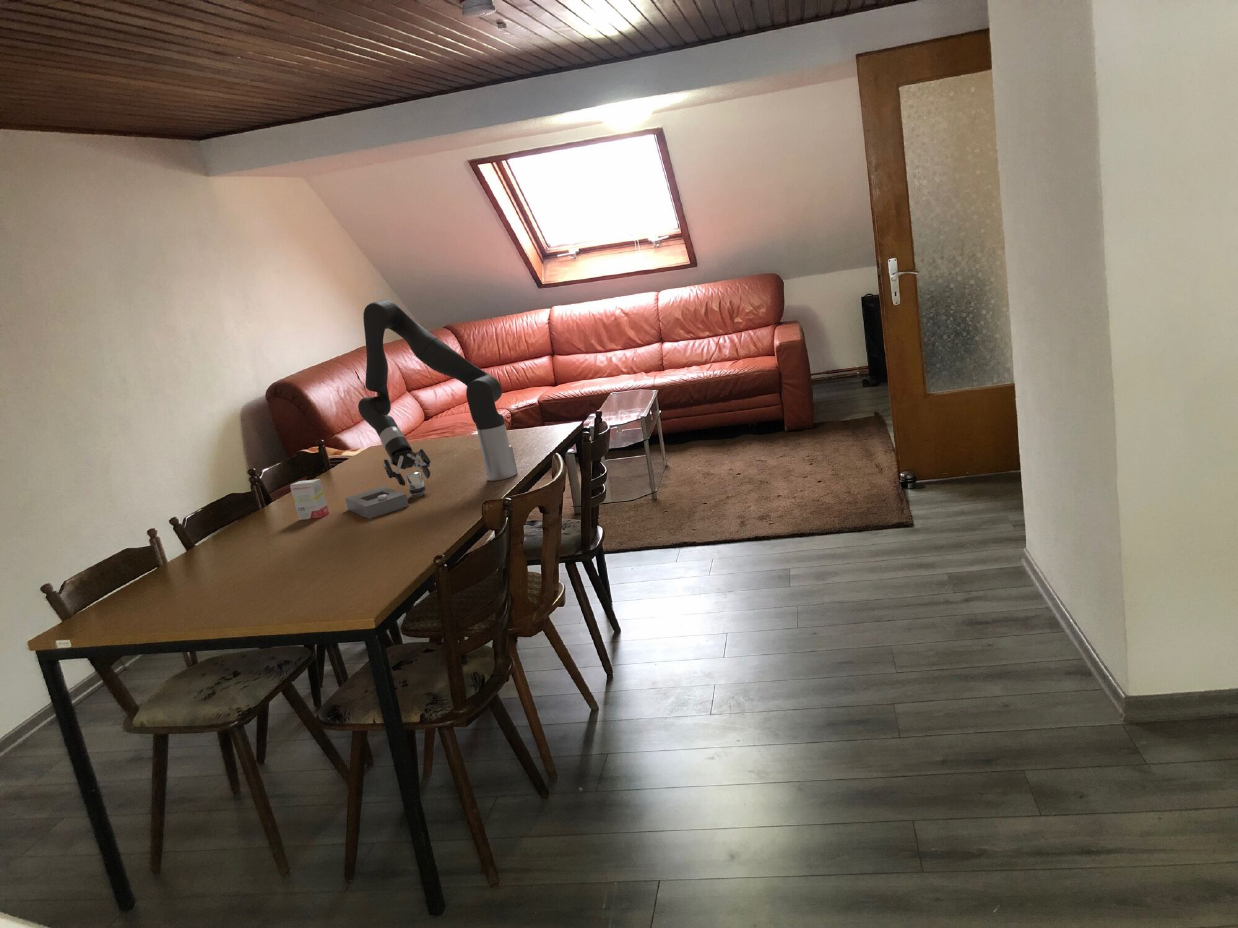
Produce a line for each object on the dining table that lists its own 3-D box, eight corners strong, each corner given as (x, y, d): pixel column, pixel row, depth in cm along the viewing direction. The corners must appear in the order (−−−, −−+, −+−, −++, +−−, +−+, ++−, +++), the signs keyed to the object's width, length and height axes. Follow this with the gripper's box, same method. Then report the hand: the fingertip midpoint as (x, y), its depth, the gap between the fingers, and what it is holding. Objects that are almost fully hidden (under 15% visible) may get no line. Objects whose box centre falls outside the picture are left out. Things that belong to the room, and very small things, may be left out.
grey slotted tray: (385, 497, 312) (382, 483, 311) (408, 506, 296) (405, 490, 295) (347, 509, 306) (344, 495, 304) (369, 519, 289) (365, 503, 288)
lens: (422, 491, 311) (417, 469, 310) (429, 493, 307) (423, 471, 305) (408, 496, 309) (402, 474, 307) (414, 498, 304) (409, 476, 303)
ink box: (330, 513, 306) (320, 478, 303) (321, 518, 301) (312, 482, 298) (307, 515, 308) (298, 480, 306) (298, 520, 304) (289, 485, 301)
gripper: (375, 442, 306) (397, 480, 299) (416, 430, 313) (438, 467, 307) (373, 456, 312) (394, 493, 305) (413, 444, 319) (435, 481, 312)
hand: (416, 480), depth 306 cm, fingers open, 8 cm apart
